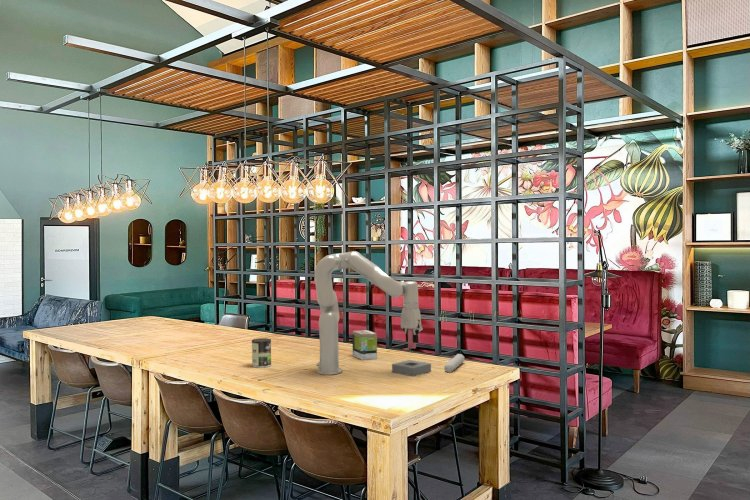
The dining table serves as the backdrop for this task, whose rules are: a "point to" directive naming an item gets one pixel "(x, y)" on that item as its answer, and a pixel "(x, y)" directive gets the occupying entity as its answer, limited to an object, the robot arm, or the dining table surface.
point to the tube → (454, 363)
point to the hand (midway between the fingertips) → (411, 341)
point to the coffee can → (261, 353)
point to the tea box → (365, 344)
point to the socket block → (411, 367)
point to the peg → (411, 339)
